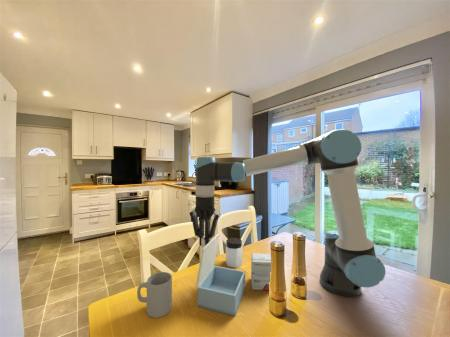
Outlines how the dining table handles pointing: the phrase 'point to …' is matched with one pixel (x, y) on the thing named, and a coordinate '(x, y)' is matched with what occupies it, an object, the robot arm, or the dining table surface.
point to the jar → (233, 252)
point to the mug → (157, 294)
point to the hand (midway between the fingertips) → (204, 253)
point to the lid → (207, 259)
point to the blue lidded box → (222, 290)
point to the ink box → (260, 271)
